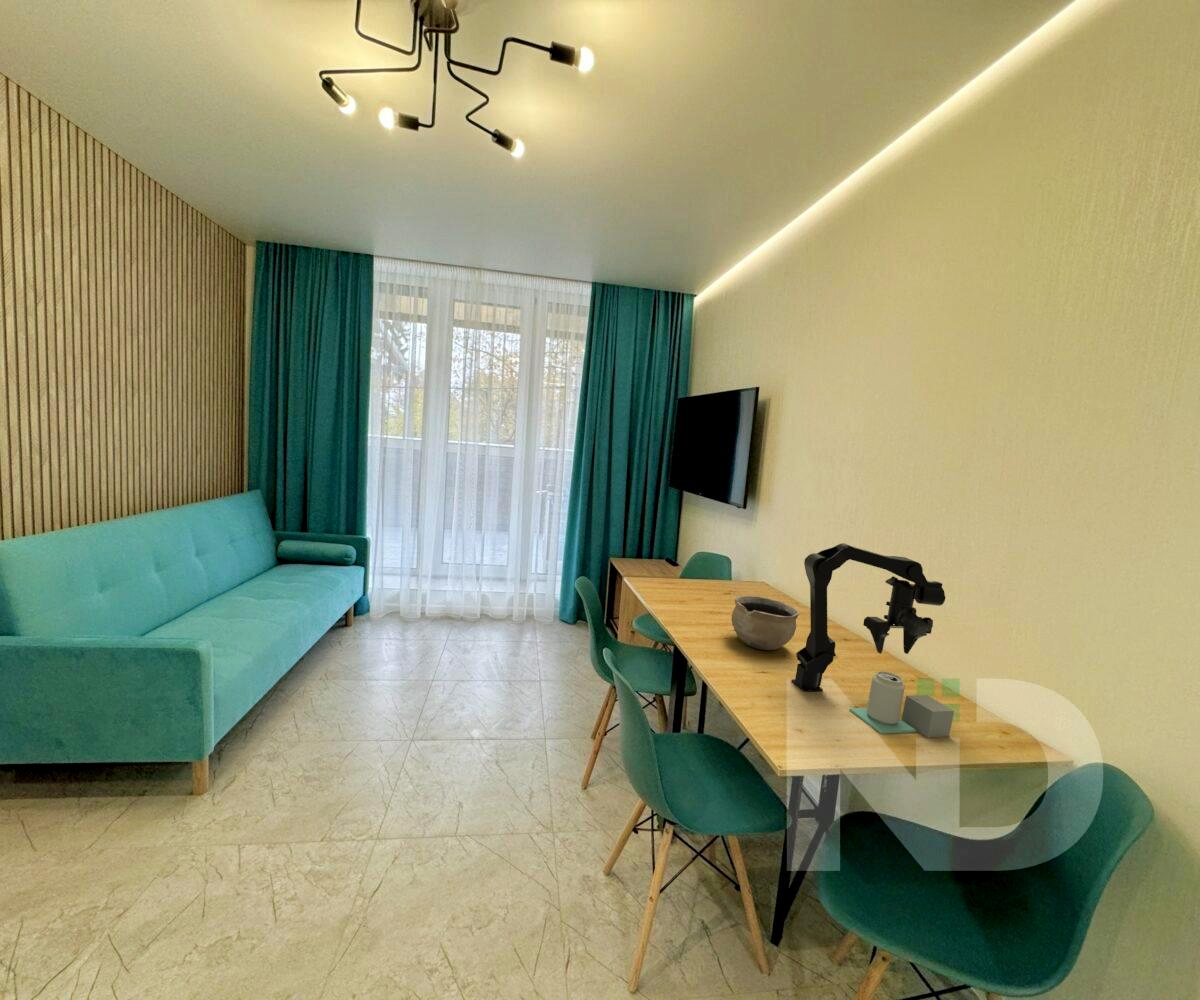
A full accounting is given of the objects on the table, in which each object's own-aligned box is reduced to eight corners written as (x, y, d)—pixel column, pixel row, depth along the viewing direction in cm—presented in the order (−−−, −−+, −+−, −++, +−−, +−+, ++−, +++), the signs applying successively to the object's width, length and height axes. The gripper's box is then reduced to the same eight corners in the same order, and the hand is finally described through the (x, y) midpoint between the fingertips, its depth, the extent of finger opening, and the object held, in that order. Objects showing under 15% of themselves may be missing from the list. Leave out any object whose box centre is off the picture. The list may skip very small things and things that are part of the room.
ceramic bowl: (715, 634, 185) (721, 594, 183) (761, 631, 194) (767, 593, 193) (758, 661, 165) (765, 616, 163) (806, 655, 174) (813, 613, 173)
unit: (927, 737, 128) (932, 710, 127) (901, 720, 136) (906, 694, 135) (950, 736, 130) (955, 710, 129) (923, 719, 138) (928, 694, 137)
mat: (880, 733, 127) (881, 731, 127) (849, 710, 138) (849, 708, 138) (915, 732, 130) (916, 729, 130) (882, 709, 141) (882, 707, 141)
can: (897, 730, 129) (906, 685, 128) (865, 719, 133) (872, 675, 131) (898, 718, 135) (906, 675, 134) (866, 708, 139) (874, 666, 138)
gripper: (896, 610, 136) (886, 665, 138) (952, 611, 141) (942, 665, 142) (866, 597, 147) (857, 648, 149) (919, 599, 151) (910, 649, 153)
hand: (892, 653), depth 148 cm, fingers open, 9 cm apart
